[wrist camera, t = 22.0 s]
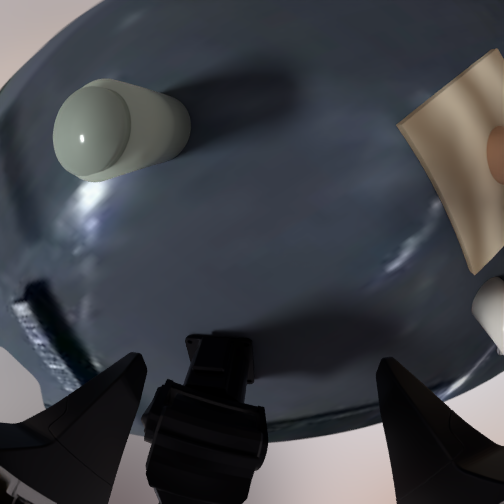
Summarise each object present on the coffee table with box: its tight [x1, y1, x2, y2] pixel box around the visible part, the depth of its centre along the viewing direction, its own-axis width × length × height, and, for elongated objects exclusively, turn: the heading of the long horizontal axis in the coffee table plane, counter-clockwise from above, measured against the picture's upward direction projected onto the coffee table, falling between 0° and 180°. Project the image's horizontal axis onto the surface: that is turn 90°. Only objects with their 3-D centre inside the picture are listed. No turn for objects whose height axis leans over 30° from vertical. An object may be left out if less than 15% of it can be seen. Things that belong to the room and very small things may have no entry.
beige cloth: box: [396, 49, 504, 275], centre depth 15 cm, size 16×16×1 cm
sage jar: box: [53, 79, 191, 182], centre depth 14 cm, size 5×5×9 cm
